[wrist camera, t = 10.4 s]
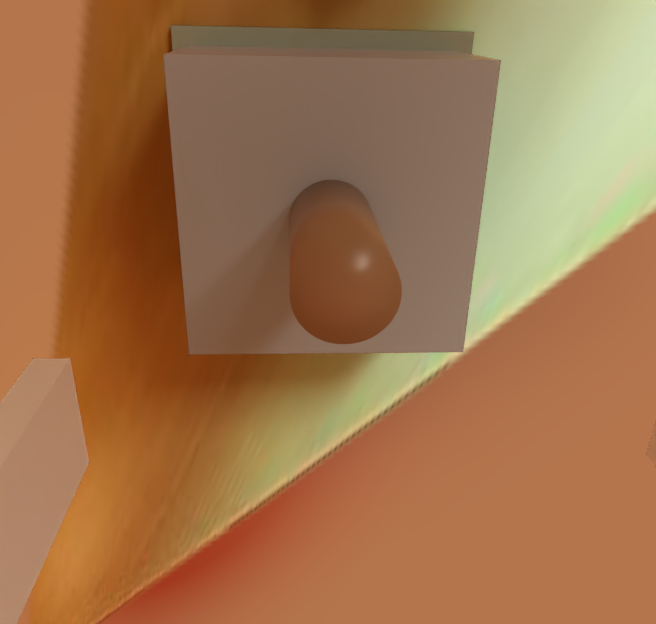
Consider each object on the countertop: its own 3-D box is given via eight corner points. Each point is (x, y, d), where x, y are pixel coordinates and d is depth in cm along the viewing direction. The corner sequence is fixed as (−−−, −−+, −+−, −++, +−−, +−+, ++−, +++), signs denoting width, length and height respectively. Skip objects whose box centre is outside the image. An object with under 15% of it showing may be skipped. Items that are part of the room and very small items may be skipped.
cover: (454, 50, 32) (587, 78, 18) (431, 290, 37) (517, 456, 23) (191, 45, 31) (109, 70, 17) (207, 290, 36) (156, 463, 22)
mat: (471, 31, 32) (473, 32, 31) (442, 301, 38) (443, 304, 38) (171, 25, 31) (170, 25, 30) (193, 302, 37) (192, 305, 37)
